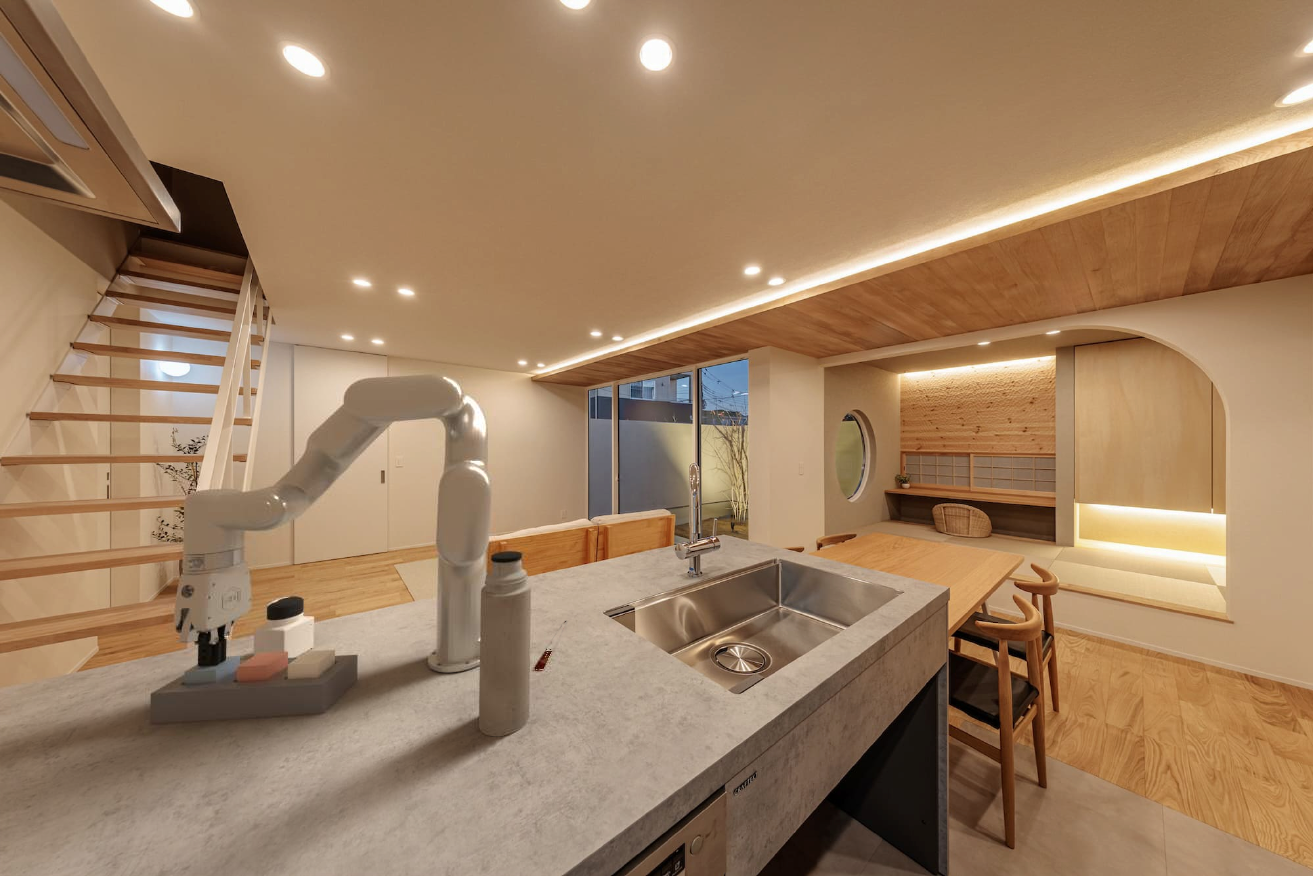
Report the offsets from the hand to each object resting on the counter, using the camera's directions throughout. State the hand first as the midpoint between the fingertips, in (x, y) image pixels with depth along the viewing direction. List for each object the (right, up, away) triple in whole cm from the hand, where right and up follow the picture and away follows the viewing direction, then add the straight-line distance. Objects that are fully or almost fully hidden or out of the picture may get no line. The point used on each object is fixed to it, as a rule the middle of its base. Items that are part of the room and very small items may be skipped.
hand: (212, 663), depth 75 cm
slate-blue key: (0, -3, 0) cm, 4 cm away
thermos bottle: (+53, -8, -3) cm, 54 cm away
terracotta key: (+8, -3, +1) cm, 9 cm away
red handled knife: (+54, -9, +24) cm, 60 cm away
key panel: (+8, -7, +1) cm, 11 cm away
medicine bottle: (-2, -7, +17) cm, 19 cm away
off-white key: (+16, -3, +2) cm, 16 cm away
